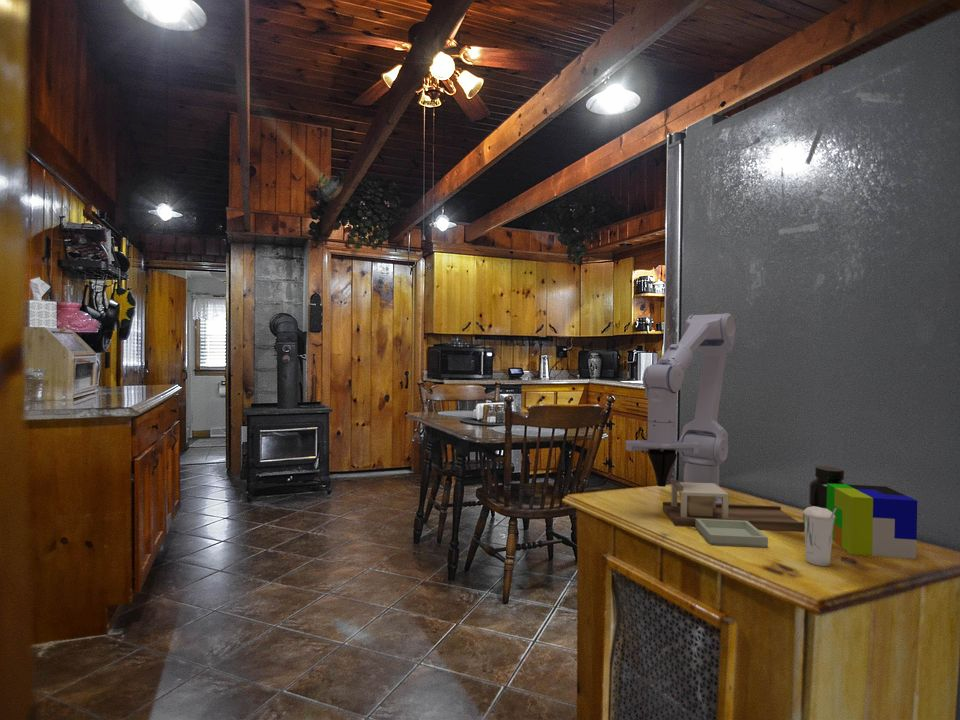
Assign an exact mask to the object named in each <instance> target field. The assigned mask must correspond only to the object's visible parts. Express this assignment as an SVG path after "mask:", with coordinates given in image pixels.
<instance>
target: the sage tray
mask: <svg viewBox="0 0 960 720" xmlns="http://www.w3.org/2000/svg"><path fill="white" fill-rule="evenodd" d="M694 528H695V529H696V530H697V531H698V532H699V534H700V535H701V536H702V537H703V538H704V540H705V541H706V542H707V543H708V544H709V545H710V546H727V547H728V546H729V547H745V548H746V547H747V548H749V547H750V548H764V549H766V548H768V546H769V537H768V536H767V535H765V534H764V533H763V532H761V530H759V529H757V528H756V527H754V526H753V525H752V524H751V523H749V522H748V521H740V520H717V519H695V527H694Z"/></svg>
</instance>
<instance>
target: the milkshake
mask: <svg viewBox="0 0 960 720" xmlns="http://www.w3.org/2000/svg"><path fill="white" fill-rule="evenodd" d="M836 509H837V508H835V509H834V511H833V513H832V512H831V511H830V510H828V509H826V508H820V507H816V506H812V507H808V506H807V507H806V508H804V509H803V511H802V517H803V522H804V531H803V532H804V543H805V560H806V562H807V563H809V564H810V565H814V566H819V567H828V566H830V565H831V564H830V563H831V554H832V546H833V545H832V544H833V540H832V537H833V529H834V522H835V515H834V513H835V511H836Z"/></svg>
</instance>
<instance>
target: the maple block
mask: <svg viewBox="0 0 960 720" xmlns="http://www.w3.org/2000/svg"><path fill="white" fill-rule="evenodd" d="M687 512H688V514H689V515H690V516H712V517H713V496H687Z"/></svg>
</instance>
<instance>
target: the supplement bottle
mask: <svg viewBox="0 0 960 720" xmlns="http://www.w3.org/2000/svg"><path fill="white" fill-rule="evenodd" d="M814 477H816V478H814V479H813V480H811V481H810V483H809V485H808V506H807V508H808V507H812V506H816V507H820V508H826V509H827V484H846V483H845V482H843V481H844V480H845V470H844V469H842V468H840V467H835V466H827V465H821V466H820V465H819V466H815V471H814Z"/></svg>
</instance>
